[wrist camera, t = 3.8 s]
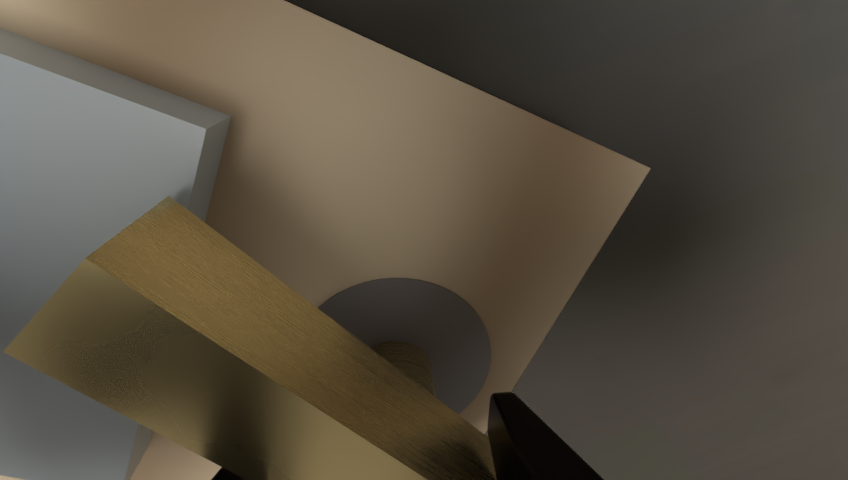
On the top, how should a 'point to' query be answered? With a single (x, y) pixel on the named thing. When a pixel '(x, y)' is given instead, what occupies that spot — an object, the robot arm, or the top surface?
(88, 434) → the lid
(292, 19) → the birch box
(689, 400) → the top surface
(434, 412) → the tan wooden bar
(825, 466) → the top surface
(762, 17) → the top surface
